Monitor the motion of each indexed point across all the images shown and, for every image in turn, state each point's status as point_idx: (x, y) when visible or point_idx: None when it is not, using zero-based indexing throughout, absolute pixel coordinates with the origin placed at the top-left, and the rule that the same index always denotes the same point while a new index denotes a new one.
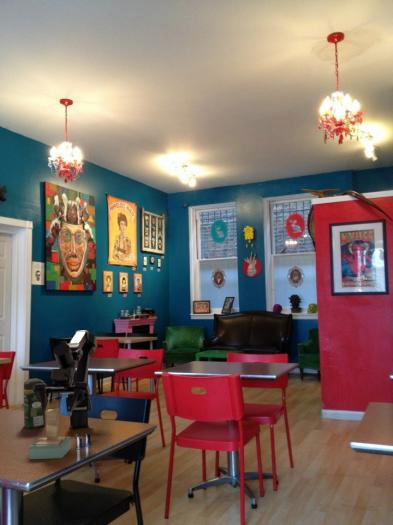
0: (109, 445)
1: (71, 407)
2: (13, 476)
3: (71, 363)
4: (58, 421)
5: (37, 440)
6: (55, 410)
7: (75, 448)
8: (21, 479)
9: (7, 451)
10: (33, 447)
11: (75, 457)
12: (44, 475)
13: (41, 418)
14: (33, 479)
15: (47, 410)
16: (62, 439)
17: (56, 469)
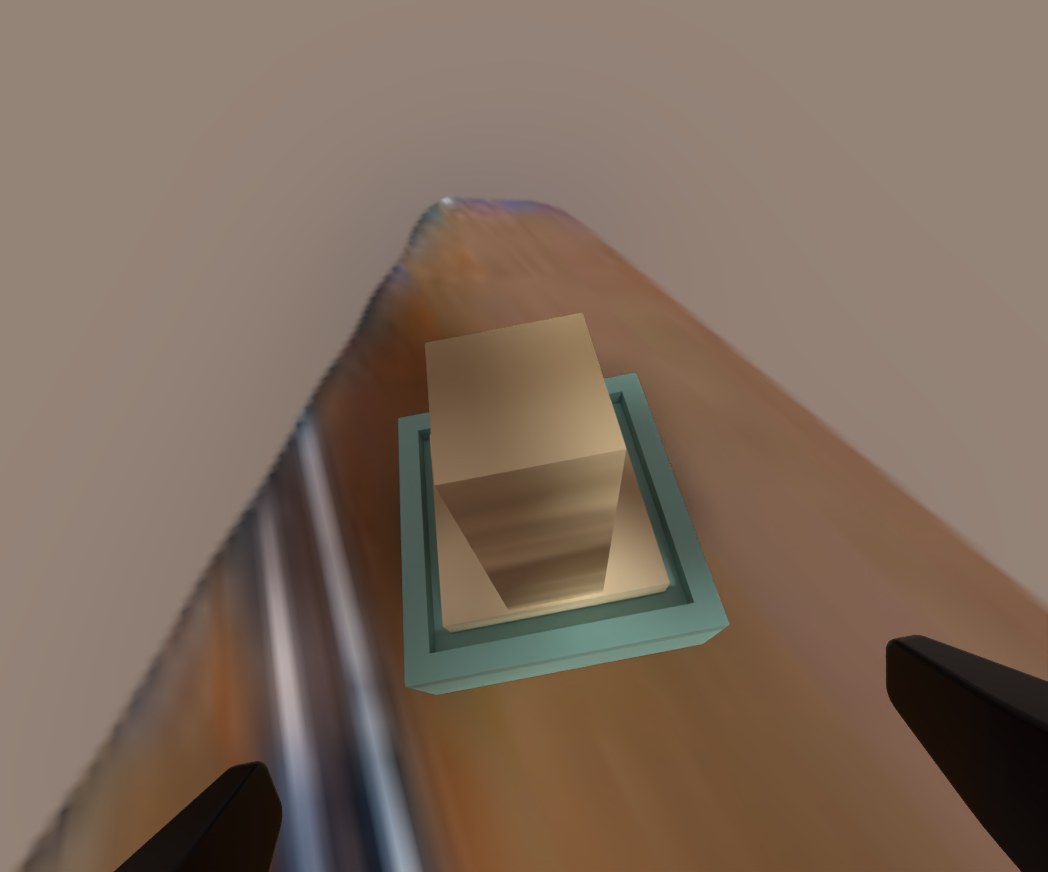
0: (89, 835)
1: (185, 813)
2: (545, 231)
3: None
4: (479, 561)
5: (690, 529)
6: (439, 367)
7: (396, 708)
8: (491, 216)
9: (982, 581)
10: (606, 383)
11: (338, 480)
12: (415, 255)
13: None
14: (442, 222)
15: (596, 358)
16: (437, 535)
17: (388, 311)
